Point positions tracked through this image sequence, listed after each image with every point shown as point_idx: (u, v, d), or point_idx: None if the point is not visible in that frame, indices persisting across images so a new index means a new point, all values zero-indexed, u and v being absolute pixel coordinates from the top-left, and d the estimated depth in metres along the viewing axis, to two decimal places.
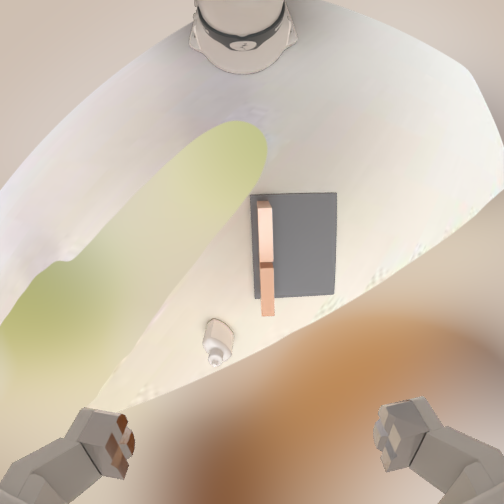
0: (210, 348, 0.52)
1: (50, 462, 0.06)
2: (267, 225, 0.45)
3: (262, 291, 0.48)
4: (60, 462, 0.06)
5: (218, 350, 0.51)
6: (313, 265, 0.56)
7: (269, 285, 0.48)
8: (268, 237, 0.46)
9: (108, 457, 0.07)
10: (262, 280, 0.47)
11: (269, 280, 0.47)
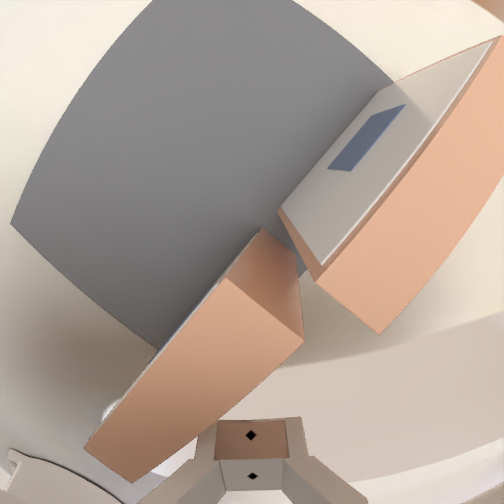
0: None
1: (190, 491, 0.05)
2: (128, 433, 0.07)
3: (478, 200, 0.05)
4: (198, 487, 0.06)
5: None
6: (186, 62, 0.12)
7: (428, 196, 0.05)
8: (154, 402, 0.07)
9: (248, 470, 0.07)
10: (431, 261, 0.06)
11: (403, 226, 0.06)
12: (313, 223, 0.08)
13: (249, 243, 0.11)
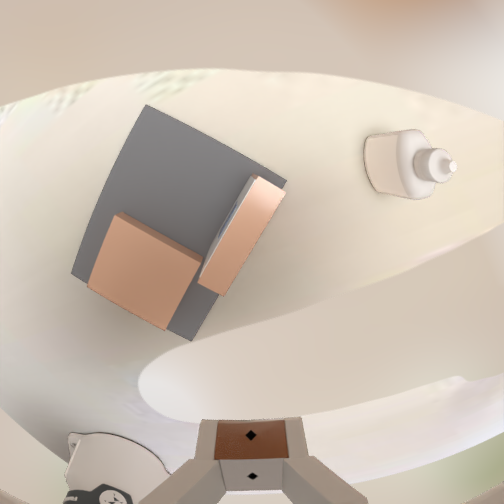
0: (427, 182, 0.20)
1: (190, 490, 0.05)
2: None
3: (248, 248, 0.20)
4: (198, 487, 0.06)
5: (419, 173, 0.19)
6: (151, 180, 0.27)
7: (226, 252, 0.20)
8: None
9: (248, 470, 0.07)
10: (233, 271, 0.21)
11: (220, 263, 0.20)
12: (205, 261, 0.23)
13: None
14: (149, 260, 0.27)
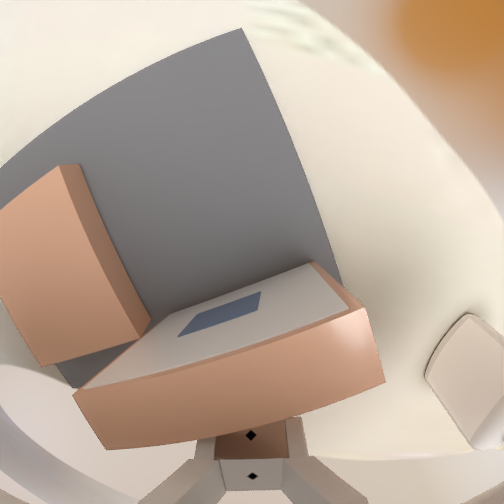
0: (502, 442, 0.10)
1: (189, 490, 0.05)
2: None
3: (212, 429, 0.07)
4: (198, 487, 0.06)
5: None
6: (155, 149, 0.14)
7: (160, 402, 0.07)
8: None
9: (248, 469, 0.07)
10: (151, 438, 0.07)
11: (134, 406, 0.07)
12: (127, 356, 0.10)
13: None
14: (66, 275, 0.13)
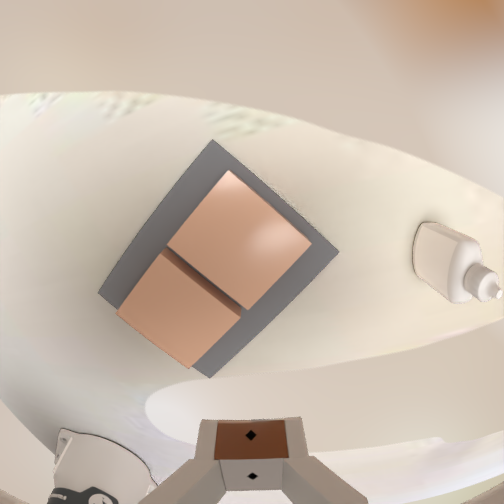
0: (469, 292, 0.20)
1: (189, 490, 0.05)
2: None
3: (194, 210, 0.25)
4: (198, 487, 0.06)
5: (467, 286, 0.20)
6: None
7: None
8: None
9: (248, 469, 0.07)
10: None
11: None
12: None
13: None
14: (188, 304, 0.27)
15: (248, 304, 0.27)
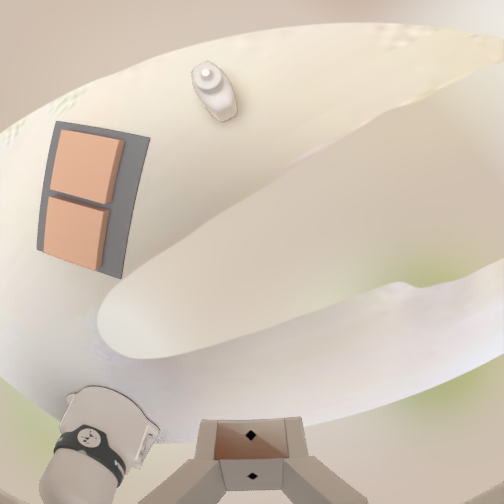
0: (217, 94, 0.26)
1: (190, 491, 0.05)
2: None
3: (55, 161, 0.34)
4: (198, 487, 0.06)
5: (201, 90, 0.26)
6: None
7: None
8: None
9: (248, 469, 0.07)
10: None
11: None
12: None
13: None
14: (73, 220, 0.35)
15: (103, 199, 0.35)
